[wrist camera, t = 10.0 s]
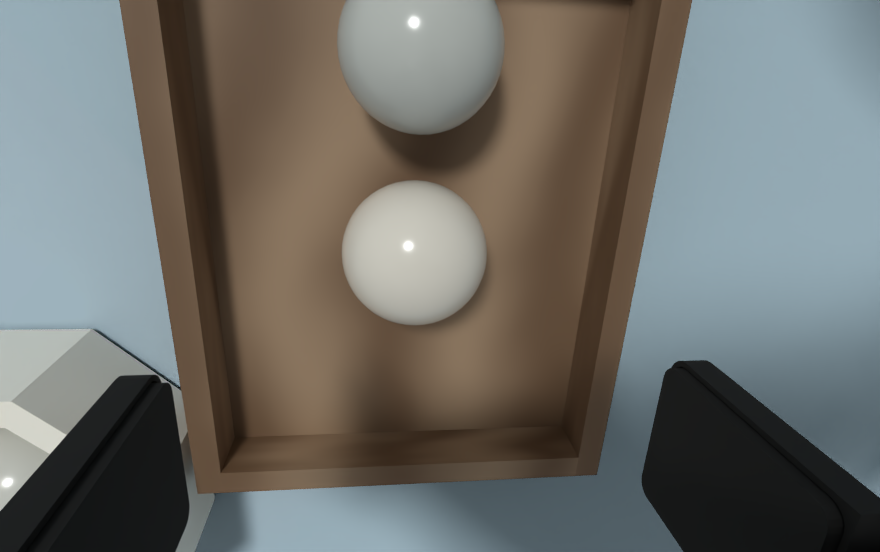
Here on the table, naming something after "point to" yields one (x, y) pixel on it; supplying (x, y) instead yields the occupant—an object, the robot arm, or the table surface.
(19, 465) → the white ball
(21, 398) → the bowl
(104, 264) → the table surface
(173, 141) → the tray
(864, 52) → the table surface
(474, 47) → the pebble
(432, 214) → the pebble
